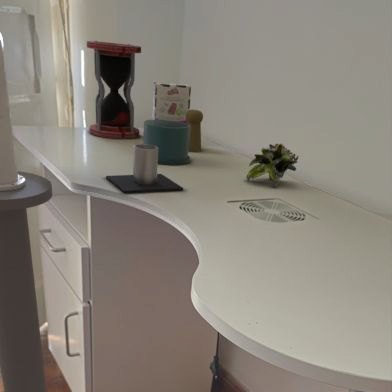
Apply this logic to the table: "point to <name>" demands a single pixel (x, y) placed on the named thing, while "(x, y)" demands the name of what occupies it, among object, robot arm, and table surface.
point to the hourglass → (114, 89)
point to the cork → (194, 129)
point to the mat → (129, 186)
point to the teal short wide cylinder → (168, 140)
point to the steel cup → (145, 164)
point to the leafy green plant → (272, 162)
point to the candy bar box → (171, 101)
